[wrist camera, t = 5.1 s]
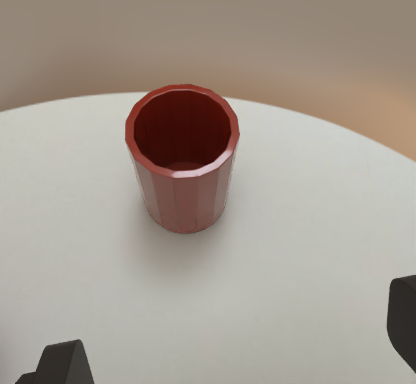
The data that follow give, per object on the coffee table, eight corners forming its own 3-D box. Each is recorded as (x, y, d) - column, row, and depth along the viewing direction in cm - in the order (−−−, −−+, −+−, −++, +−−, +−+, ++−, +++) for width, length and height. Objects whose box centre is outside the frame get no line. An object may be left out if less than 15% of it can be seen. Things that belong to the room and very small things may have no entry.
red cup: (222, 158, 28) (232, 82, 20) (230, 231, 26) (245, 174, 18) (144, 162, 28) (126, 86, 20) (145, 236, 25) (124, 181, 17)
